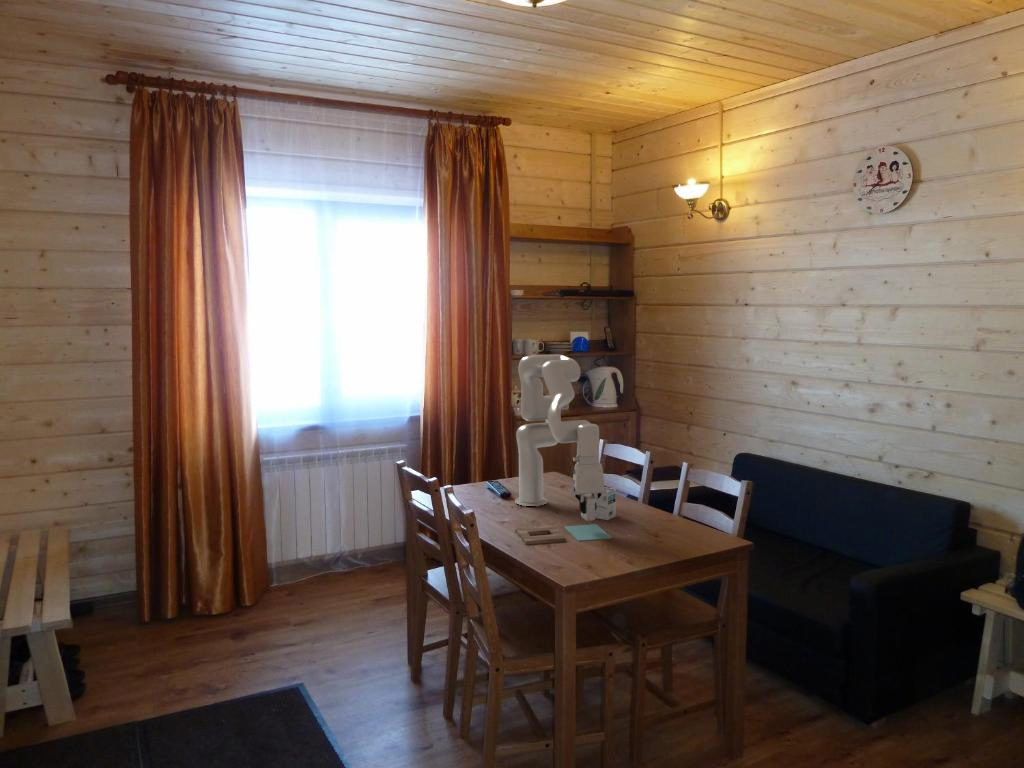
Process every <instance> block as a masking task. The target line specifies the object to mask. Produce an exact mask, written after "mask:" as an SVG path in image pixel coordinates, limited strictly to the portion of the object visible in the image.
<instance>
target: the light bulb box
mask: <svg viewBox="0 0 1024 768" xmlns="http://www.w3.org/2000/svg"><path fill="white" fill-rule="evenodd" d="M604 487H605V489H606V493H605V494H603V495H601V496H600V498H599V499H598V501H597V503H596V510H595V519H598V520H599V519H600V520H604V521H605V520H606V521H610V520H611V519H613V518H615V517H617V488H615V487H607V486H604ZM591 495H592V494H591Z"/></svg>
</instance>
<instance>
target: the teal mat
mask: <svg viewBox="0 0 1024 768" xmlns="http://www.w3.org/2000/svg"><path fill="white" fill-rule="evenodd" d="M563 528H564V529H565V530H566V531H567V532H568V533H570V535H571V536H572V537H573V538H574V539H577V542H585V541H598V540H599V541H600V540H610V539H611V538H612V539H613V536H611V535H610V534H609V533H607V532H606V531H605V530H604V529H603V528H601V526H599V525H598V524H597V523H593V524H591V523H590V524H581V525H578V524H577V525H565V526H563ZM612 539H611V540H612Z"/></svg>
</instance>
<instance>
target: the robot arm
mask: <svg viewBox="0 0 1024 768" xmlns="http://www.w3.org/2000/svg"><path fill="white" fill-rule="evenodd" d="M518 362H519V363H518V376H519V381H520V386H521V387H520V389H521V390H520V416H521V418H522V419H523V420H525V421H527V422H537V421H544V422H537V423H527V424H523V425H520V426H519V427H518V428H517V430H516V433H515V435H516V436H515V437H516V443H517V449H518V451H517V452H518V497H517V498H515V499H514V503H515V504H516V503H517V504H519V505H518V506H520V505H522V506H521V507H526V506H536V507H541V505H542V506H544V504H545V505H546V504H548V500H547V498H546V497H544V459H543V456H542V454H541V453H540V451H539V449H540V448H547V447H553V446H556V445H557V444H558V443H559V444H569V443H576V456H575V457H574V456H573V458H572V460H573V462H576V463H575V465H574V469H573V474H572V475H573V476H572V477H573V478H572V487H571V488H570V491H569V493H568V494H569V495H570V496H572V497H574V498H576V499H577V500H578V502H579V503H578V504H579V505H578V509H579V511H580V513H581V512H582V513H583V514H585V502H584V494H592V495H593V496H594V497H595V498H597V501H598V499H599V498H600V496H601V495H603V494H605V493H606V489H605V487H606V486H605V480H604V478H605V477H604V472H603V471H604V470H603V465H602V463H600V427H599V425H598V424H596V423H591V422H590V421H588V420H586V419H580V420H578V419H577V420H564V421H562V419H561V418H562V417H561V416H562V415H561V414H562V413H561V412H562V409H561V408H562V407H564V406H566V405H568V404H569V403H571V402H572V401H573V400H574V398H575V396H576V394H575V391H574V388H573V386H572V384H571V382H577V381H578V380H579V379H580V377H581V373H582V372H581V367H580V365H579V363H578V362H577V361H576V360H575V359H574V358H571V357H568V356H567V355H563V354H557V353H556V354H554V353H553V354H532V355H526V356H524V357H522V358H521V359H520V361H518ZM540 378H543V380H544V383H545V385H546V387H547V390H548V393H549V395H544V385H543V383H542V381H541V379H540ZM517 504H516V505H517ZM595 510H596V503H595Z"/></svg>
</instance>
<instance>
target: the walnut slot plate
mask: <svg viewBox="0 0 1024 768" xmlns="http://www.w3.org/2000/svg"><path fill="white" fill-rule="evenodd" d="M514 530H515V531H514V532H515V534H516V533H517V534H518V535H517V534H516V535H517V536H518V538H519V539H520V538H521V539H522V540H521V539H520V540H521V541H522V543H523V544H524V543H525V544H527V545H537V544H548V543H550V544H551V543H562V542H567V537H566V536H565V535H564V534H563V533H562V532H561V531H560V530H559V529H558V528H557V527H556V526H555V525H545V526H533V527H532V526H531V527H521V528H520V527H519V528H515V529H514ZM547 533H550V534H547ZM535 534H536V535H535ZM525 544H524V545H525Z"/></svg>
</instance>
